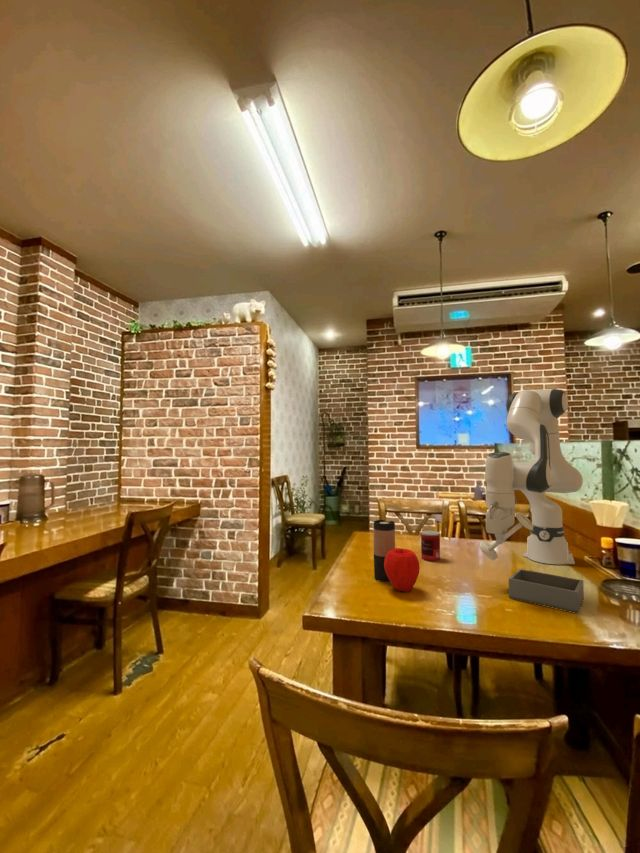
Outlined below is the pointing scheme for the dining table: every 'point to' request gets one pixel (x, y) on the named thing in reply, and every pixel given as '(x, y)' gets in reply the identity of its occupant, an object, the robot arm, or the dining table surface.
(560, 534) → the robot arm
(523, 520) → the pedestal dish
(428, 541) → the canned food
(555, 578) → the tray
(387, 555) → the apple
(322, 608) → the dining table surface
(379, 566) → the travel mug
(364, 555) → the dining table surface
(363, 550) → the dining table surface
